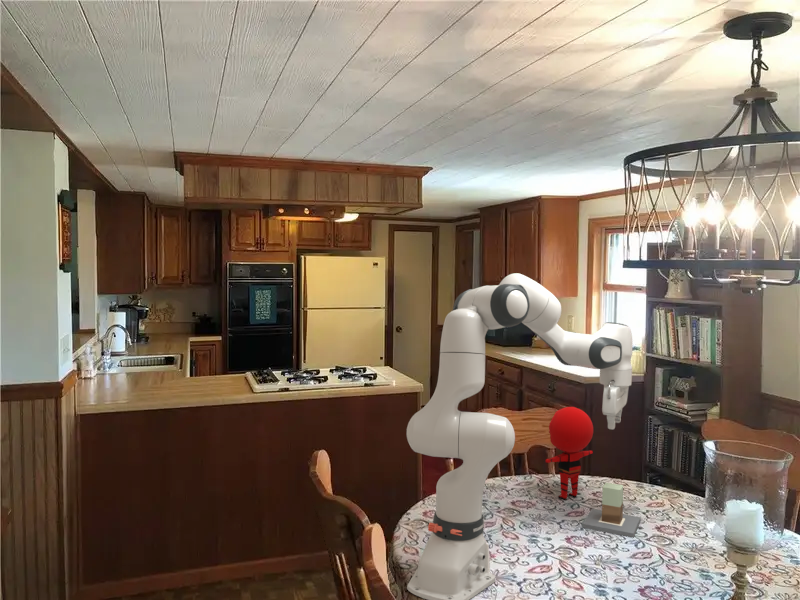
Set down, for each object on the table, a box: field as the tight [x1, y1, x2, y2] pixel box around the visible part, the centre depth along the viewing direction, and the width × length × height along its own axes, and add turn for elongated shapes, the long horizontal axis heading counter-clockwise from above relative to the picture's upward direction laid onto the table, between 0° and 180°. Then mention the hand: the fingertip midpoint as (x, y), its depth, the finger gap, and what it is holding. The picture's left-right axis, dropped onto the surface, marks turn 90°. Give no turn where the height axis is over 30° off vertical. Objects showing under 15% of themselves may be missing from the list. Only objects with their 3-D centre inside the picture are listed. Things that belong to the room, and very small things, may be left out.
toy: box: [545, 406, 594, 501], centre depth 204 cm, size 22×14×30 cm, turn 123°
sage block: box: [601, 482, 624, 507], centre depth 182 cm, size 5×5×5 cm
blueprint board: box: [581, 508, 642, 539], centre depth 182 cm, size 14×14×1 cm
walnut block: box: [601, 502, 624, 525], centre depth 182 cm, size 5×5×5 cm
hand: (614, 425), depth 182 cm, fingers open, 8 cm apart
